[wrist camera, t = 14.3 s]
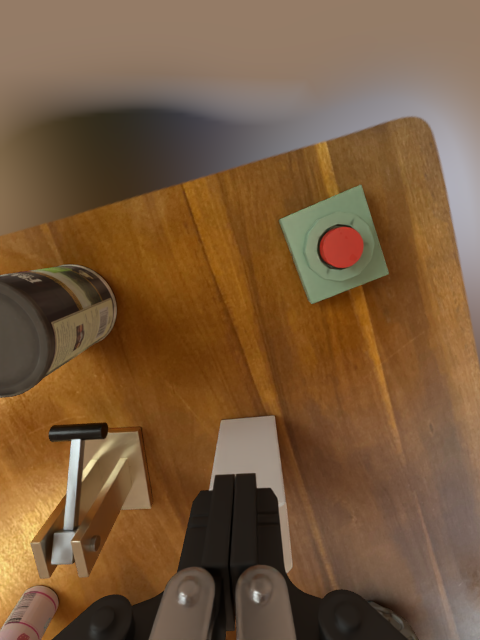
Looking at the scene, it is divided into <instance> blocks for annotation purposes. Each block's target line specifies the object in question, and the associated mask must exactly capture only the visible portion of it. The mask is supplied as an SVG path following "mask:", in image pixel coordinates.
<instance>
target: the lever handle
mask: <svg viewBox="0 0 480 640" xmlns="http://www.w3.org/2000/svg"><path fill="white" fill-rule="evenodd" d="M107 435H108V425H107V423H87V424H69V425H54V426H52V427H51V429H50V431H49V439H50V441H51V442H62V441H71V450H70V461H69V472H68V483H67V494H66V505H65V515H64V526H63V528H62V529H60V530H59V531H57V532H55V533H54V538H53V548H52V558H51V565H60V564H73V563H74V562H75V559H74V554H73V550H72V546H71V540H72V538H73V537H74V535H75V533H76V532H77V530H78V528H79V527H80V525H78V522H79V510H80V498H81V485H82V473H83V460H84V448H85V440H101V439H105V438H106V437H107Z"/></svg>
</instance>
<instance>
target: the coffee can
mask: <svg viewBox="0 0 480 640" xmlns="http://www.w3.org/2000/svg"><path fill="white" fill-rule="evenodd" d="M116 315H117V306H116V301H115V297H114V294H113V292H112V290H111V288H110V287H109V285H108V284H107V282H106V281H105V280H104V279H103V278H102V277H101V276H100V275H98V274H97V273H96V272H94V271H93V270H91V269H88V268H86V267H83V266H79V265H61V266H58V267H53V268H46V269H39V270H32V271H25V272H18V273H12V274H4V275H0V398H2V397H12V396H16V395H19V394H22V393H24V392H26V391H28V390H29V389H31V388H32V387H34V386H35V385H37V384H38V383H39V382H40V381H41V380H42V379H43V378H44V377H46V376H47V375H49V374H50V373H52V372H53V371H55V370H56V369H58V368H59V367H61V366H62V365H64V364H65V363H67V362H68V361H70V360H71V359H73V358H74V357H76V356H77V355H79V354H80V353H82V352H83V351H85V350H86V349H88V348H89V347H90V346H92V345H94V344H95V343H97V342H99V341H101V340H102V339H104V338H105V337H106V336H107V335H108V334H109V333H110V331H111V330H112V328H113V326H114V323H115V320H116Z"/></svg>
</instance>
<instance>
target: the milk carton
mask: <svg viewBox="0 0 480 640" xmlns="http://www.w3.org/2000/svg"><path fill="white" fill-rule="evenodd" d="M241 473H256V483H257V488H271V489H272V490H273V492H274V493H275V495H276V497H277V498H278V507H279V517H280V527H281V537H282V547H283V556H284V566H285V571H286V574H287V573H288V572H289V571H290V570H291V569H292V554H291V544H290V534H289V524H288V514H287V505H286V497H285V490H284V482H283V474H282V467H281V459H280V452H279V444H278V436H277V429H276V421H275V416H263V417H252V418H240V419H229V420H221V424H220V430H219V436H218V441H217V447H216V453H215V459H214V465H213V471H212V477H211V483H210V489H209V490H213V485H214V478H215V475H221V474H235V477H236V474H241Z"/></svg>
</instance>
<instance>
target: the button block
mask: <svg viewBox="0 0 480 640" xmlns="http://www.w3.org/2000/svg"><path fill="white" fill-rule="evenodd" d="M279 223H280V226H281V229H282V231H283V234H284V237H285V239H286V242H287V245H288V247H289V250H290V253H291V255H292V258H293V261H294V264H295V266H296V269H297V272H298V274H299V277H300V280H301V282H302V285H303V288H304V290H305V293H306V296H307V298H308V301H309V302H310V303H311V304H313V303H316V302H319V301H321V300H324V299H326V298H329V297H331V296H334V295H337V294H339V293H342V292H344V291H347V290H349V289H352V288H355V287H357V286H360V285H362V284H365V283H367V282H370V281H373V280H375V279H378V278H380V277H383V276H385V275H388V274H389V272H388V269H387V265H386V262H385V259H384V256H383V253H382V249H381V246H380V243H379V240H378V237H377V233H376V230H375V227H374V224H373V221H372V217H371V214H370V211H369V208H368V205H367V201H366V198H365V195H364V192H363V189H362V185H359V186H356V187H354V188H352V189H349V190H347V191H345V192H342V193H340V194H338V195H335V196H333V197H331V198H328V199H326V200H324V201H321V202H319V203H317V204H314V205H312V206H310V207H307V208H305V209H303V210H300V211H298V212H296V213H293V214H291V215H289V216H286V217H284V218H282V219H280V220H279ZM338 227H350V228H353V229H355V230H356V231H357V232H358V233H359V234H360V235H361V237H362V239H363V244H364V248H363V253H362V255H361V257H360V259H359V260H358V261H357V262H356V263H355V264H353V265H352V266H350V267H346V268H337V267H334V266H331V265H329V264H327V263H326V262H325V261H324V260H323V259H322V257H321V255H320V242H321V240H322V238H323V236H324V235H325V234H326V233H327V232H328V231H330V230H331V229H334V228H338Z"/></svg>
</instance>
